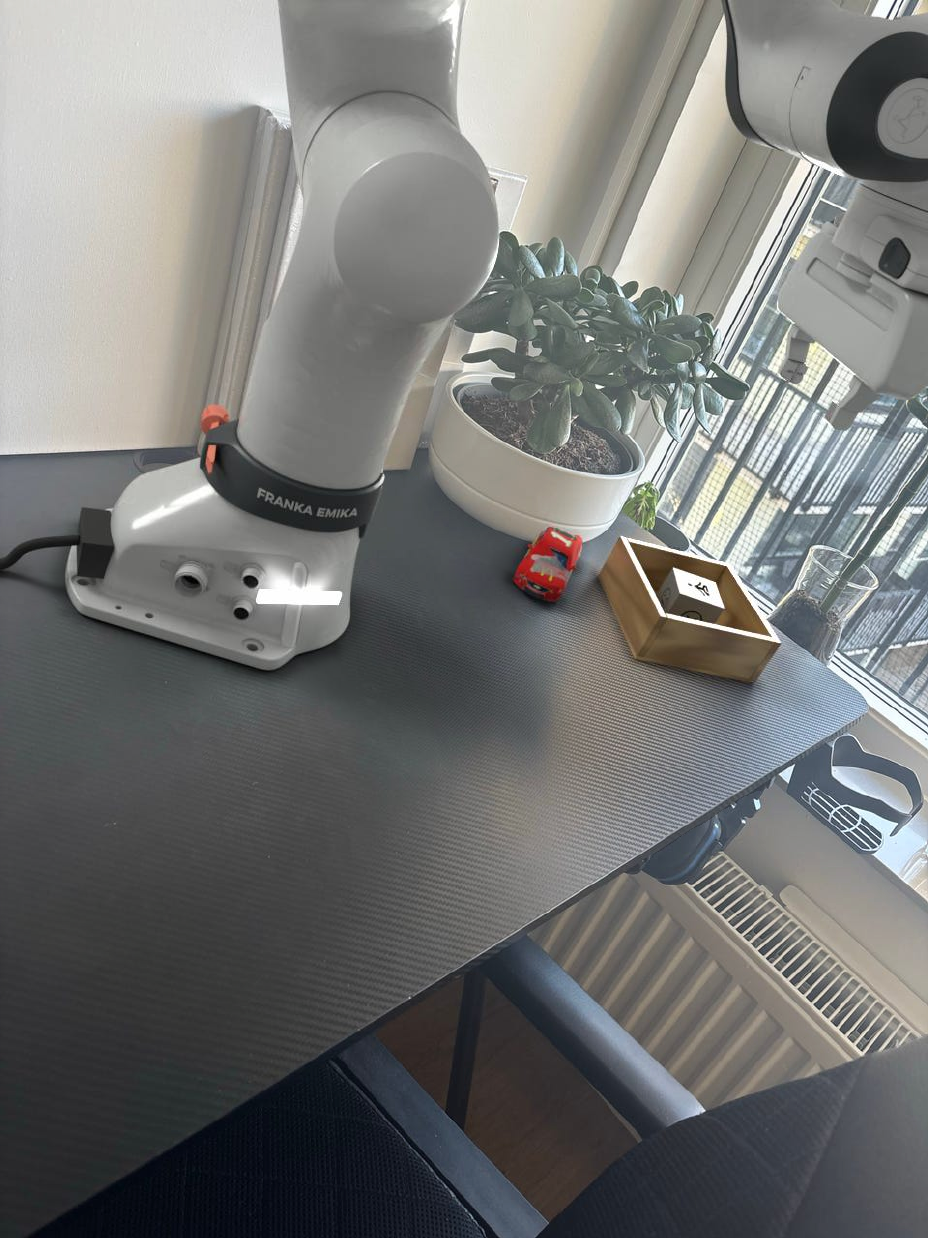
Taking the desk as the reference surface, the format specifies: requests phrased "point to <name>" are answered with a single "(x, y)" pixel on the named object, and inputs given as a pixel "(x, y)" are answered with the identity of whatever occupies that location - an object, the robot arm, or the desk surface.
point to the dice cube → (690, 597)
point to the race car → (549, 564)
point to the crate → (677, 641)
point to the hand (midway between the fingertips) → (810, 402)
